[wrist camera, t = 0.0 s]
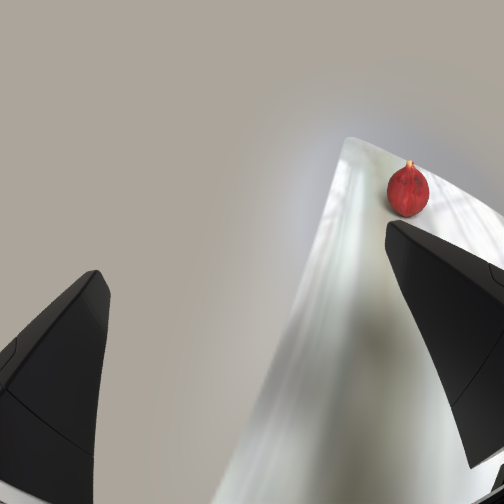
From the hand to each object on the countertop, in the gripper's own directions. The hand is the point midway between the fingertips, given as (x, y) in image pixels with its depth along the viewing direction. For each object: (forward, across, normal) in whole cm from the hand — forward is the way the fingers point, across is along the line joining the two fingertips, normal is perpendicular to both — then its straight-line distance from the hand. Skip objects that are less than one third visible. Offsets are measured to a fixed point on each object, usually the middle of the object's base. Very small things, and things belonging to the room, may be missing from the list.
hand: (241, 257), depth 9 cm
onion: (+26, -21, +17) cm, 37 cm away
